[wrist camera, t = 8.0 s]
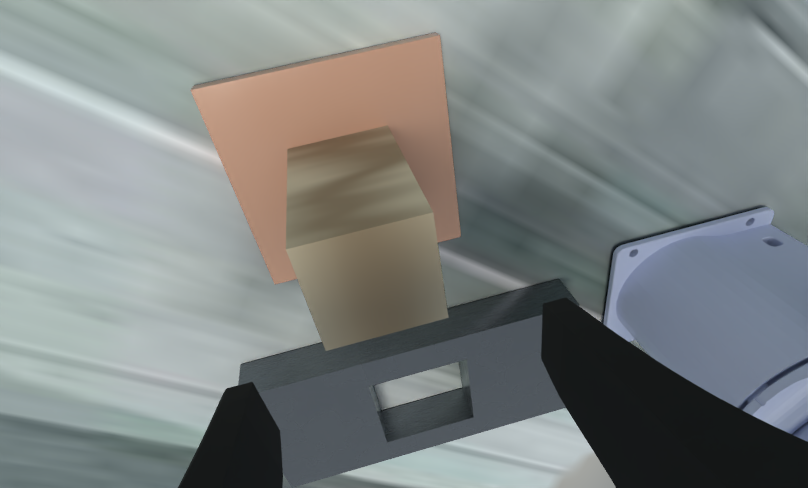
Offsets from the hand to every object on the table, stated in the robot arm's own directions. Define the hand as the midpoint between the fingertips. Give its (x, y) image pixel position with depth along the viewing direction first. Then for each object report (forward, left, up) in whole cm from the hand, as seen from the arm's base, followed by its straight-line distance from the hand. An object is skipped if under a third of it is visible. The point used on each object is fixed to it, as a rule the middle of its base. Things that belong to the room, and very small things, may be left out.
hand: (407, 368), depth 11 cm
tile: (0, -1, -10) cm, 10 cm away
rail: (-1, +13, -10) cm, 17 cm away
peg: (0, -1, -10) cm, 10 cm away
